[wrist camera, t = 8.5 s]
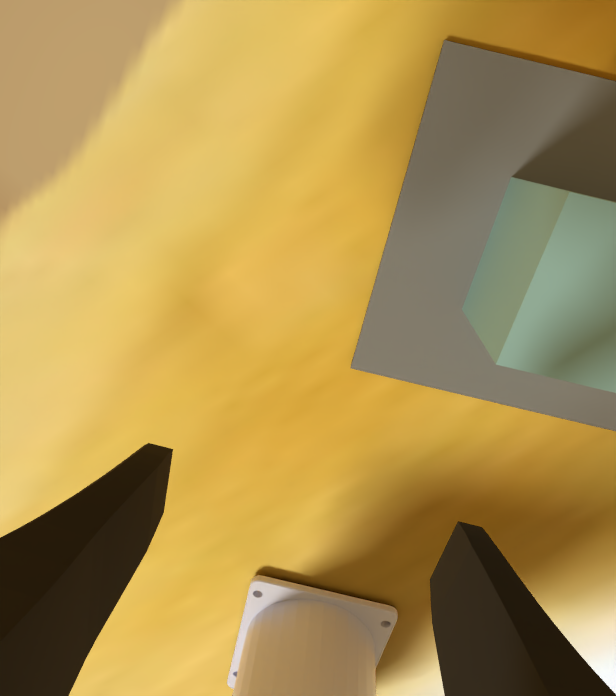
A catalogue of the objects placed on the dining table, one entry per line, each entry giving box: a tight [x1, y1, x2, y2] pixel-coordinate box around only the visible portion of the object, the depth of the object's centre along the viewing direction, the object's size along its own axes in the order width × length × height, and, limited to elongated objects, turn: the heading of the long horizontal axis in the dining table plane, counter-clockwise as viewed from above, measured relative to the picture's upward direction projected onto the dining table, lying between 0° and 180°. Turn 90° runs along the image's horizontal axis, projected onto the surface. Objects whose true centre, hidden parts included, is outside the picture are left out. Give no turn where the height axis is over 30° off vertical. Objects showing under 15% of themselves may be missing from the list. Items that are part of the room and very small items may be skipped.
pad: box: [351, 40, 616, 431], centre depth 18 cm, size 12×12×1 cm
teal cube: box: [462, 177, 616, 393], centre depth 15 cm, size 5×5×5 cm
